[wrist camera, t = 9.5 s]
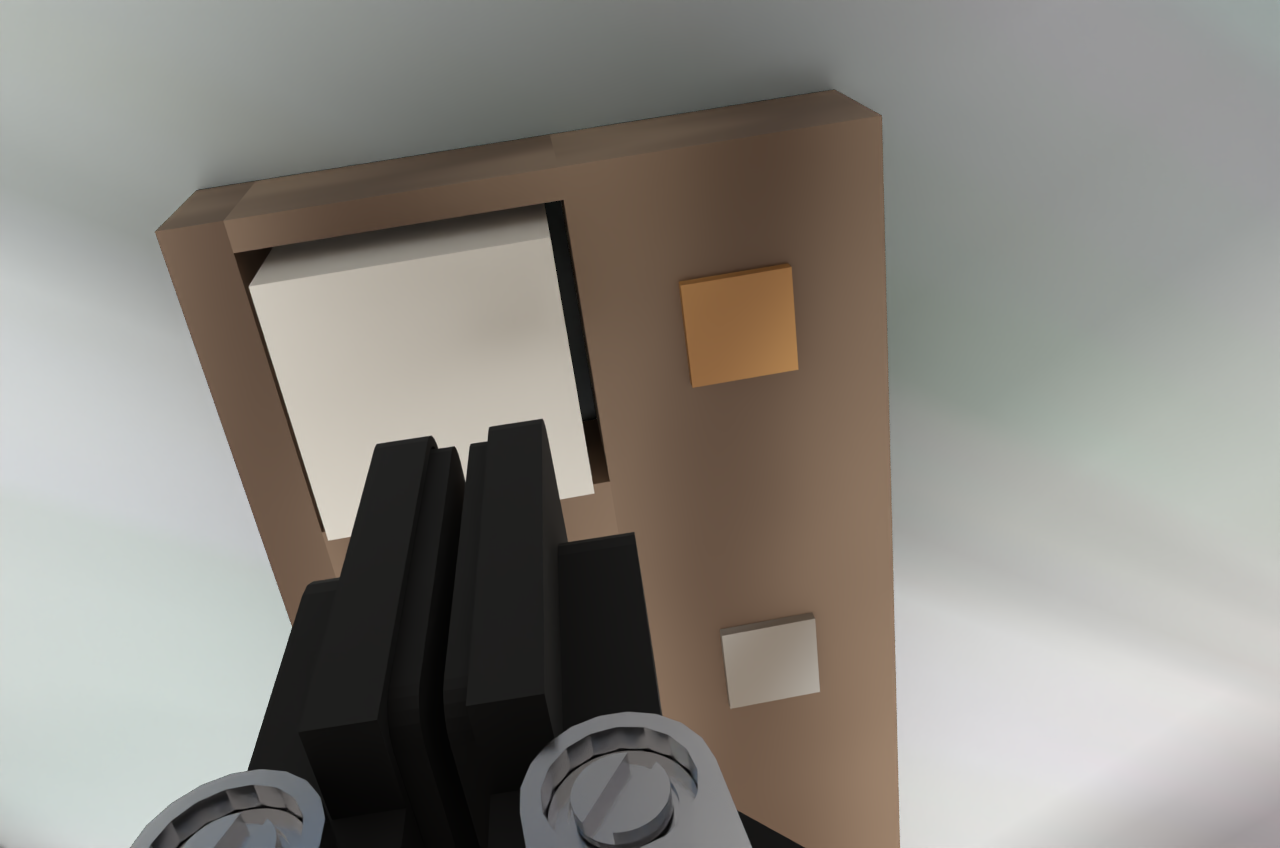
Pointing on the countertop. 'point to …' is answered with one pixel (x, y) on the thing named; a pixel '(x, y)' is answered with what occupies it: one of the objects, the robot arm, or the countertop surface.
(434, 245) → the end button
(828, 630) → the button board
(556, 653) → the robot arm
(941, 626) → the countertop surface
